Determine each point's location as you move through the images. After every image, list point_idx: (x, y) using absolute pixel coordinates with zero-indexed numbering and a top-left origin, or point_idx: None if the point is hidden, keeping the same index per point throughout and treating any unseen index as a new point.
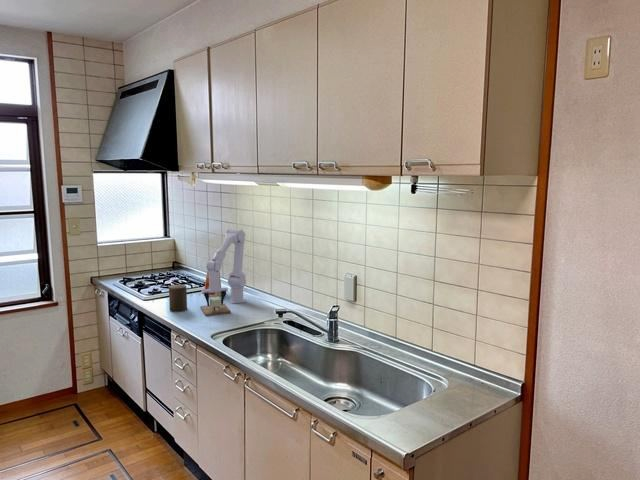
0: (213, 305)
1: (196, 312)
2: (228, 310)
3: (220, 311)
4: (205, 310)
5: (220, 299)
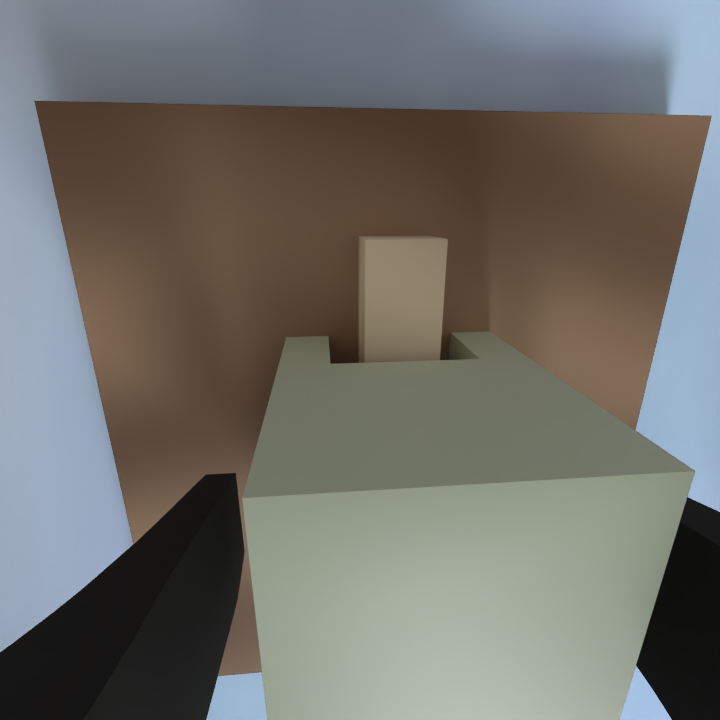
0: (502, 375)
1: (699, 435)
2: (98, 195)
3: (319, 187)
4: (601, 394)
5: (246, 496)
